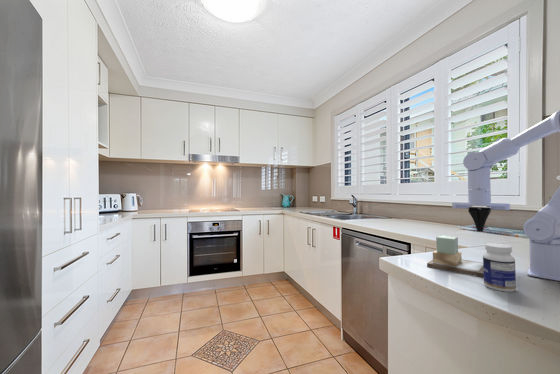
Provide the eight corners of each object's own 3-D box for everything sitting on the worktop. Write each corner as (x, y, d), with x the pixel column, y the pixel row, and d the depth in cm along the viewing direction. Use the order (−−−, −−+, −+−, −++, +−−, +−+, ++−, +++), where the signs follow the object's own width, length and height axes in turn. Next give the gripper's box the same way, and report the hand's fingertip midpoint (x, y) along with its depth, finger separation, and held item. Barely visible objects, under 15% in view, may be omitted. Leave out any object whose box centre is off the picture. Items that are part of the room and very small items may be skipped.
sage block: (458, 252, 75) (457, 237, 75) (454, 254, 72) (453, 239, 72) (441, 249, 79) (440, 235, 79) (436, 252, 76) (436, 237, 76)
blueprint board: (494, 267, 73) (493, 253, 73) (487, 278, 64) (486, 262, 64) (439, 258, 83) (438, 246, 83) (427, 266, 75) (426, 252, 75)
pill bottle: (483, 281, 62) (482, 241, 62) (515, 286, 59) (513, 244, 59) (483, 288, 58) (482, 245, 58) (517, 294, 54) (516, 248, 54)
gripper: (510, 189, 78) (511, 232, 78) (455, 189, 89) (456, 227, 88) (508, 189, 73) (509, 235, 73) (450, 189, 84) (451, 230, 84)
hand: (480, 231), depth 80 cm, fingers closed
